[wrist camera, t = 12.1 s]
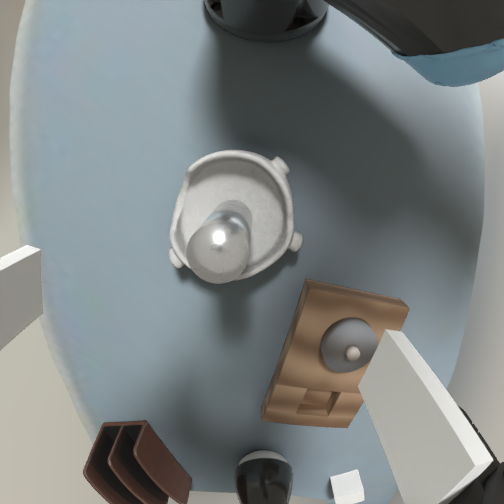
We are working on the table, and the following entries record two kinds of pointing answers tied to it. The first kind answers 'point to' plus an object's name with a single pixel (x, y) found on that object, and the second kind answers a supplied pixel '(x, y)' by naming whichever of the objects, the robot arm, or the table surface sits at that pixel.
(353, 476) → the white cube
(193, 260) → the pin
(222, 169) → the dish
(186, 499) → the letter holder
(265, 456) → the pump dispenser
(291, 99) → the table surface
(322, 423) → the plate
